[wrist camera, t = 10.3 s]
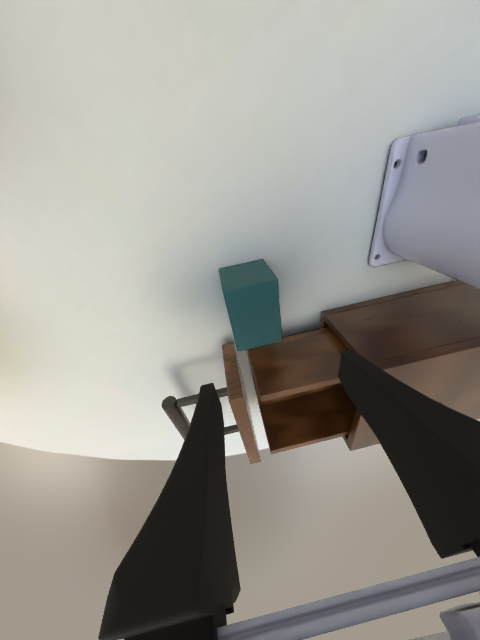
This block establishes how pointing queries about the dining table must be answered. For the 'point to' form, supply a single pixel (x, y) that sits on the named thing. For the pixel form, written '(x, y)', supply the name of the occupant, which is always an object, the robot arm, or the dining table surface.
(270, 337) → the tea box
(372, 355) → the cabinet
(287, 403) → the drawer
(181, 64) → the dining table surface
